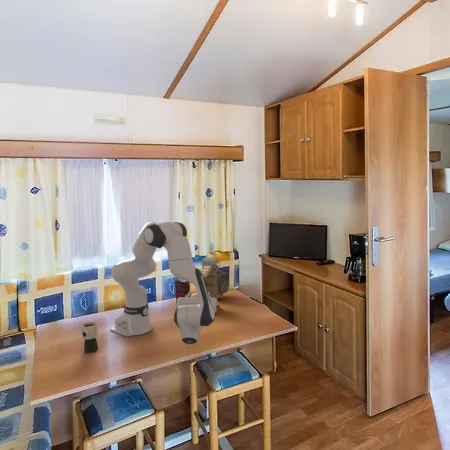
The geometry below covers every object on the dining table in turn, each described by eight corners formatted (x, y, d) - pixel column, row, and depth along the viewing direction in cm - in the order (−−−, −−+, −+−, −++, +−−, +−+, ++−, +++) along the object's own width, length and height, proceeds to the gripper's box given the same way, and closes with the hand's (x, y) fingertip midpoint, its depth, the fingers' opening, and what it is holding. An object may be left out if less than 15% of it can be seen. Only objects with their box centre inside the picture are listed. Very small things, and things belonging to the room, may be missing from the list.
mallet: (209, 277, 203) (209, 268, 202) (195, 277, 204) (194, 268, 203) (217, 265, 229) (217, 257, 228) (204, 265, 230) (204, 257, 230)
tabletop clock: (222, 294, 256) (220, 258, 253) (230, 297, 249) (229, 260, 245) (204, 299, 247) (203, 262, 244) (213, 303, 240) (211, 264, 237)
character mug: (81, 348, 182) (78, 322, 180) (96, 344, 186) (94, 319, 184) (86, 356, 173) (83, 329, 171) (101, 352, 176) (99, 326, 175)
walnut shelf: (215, 317, 215) (213, 273, 211) (199, 317, 216) (197, 273, 213) (219, 306, 232) (218, 265, 229) (205, 306, 234) (203, 265, 230)
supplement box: (191, 304, 239) (190, 280, 237) (186, 306, 235) (185, 282, 233) (180, 302, 243) (179, 278, 241) (175, 304, 239) (174, 280, 237)
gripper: (215, 309, 180) (218, 288, 191) (173, 309, 183) (179, 288, 194) (216, 318, 184) (219, 296, 195) (175, 317, 187) (181, 296, 198)
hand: (199, 292), depth 194 cm, fingers open, 8 cm apart
